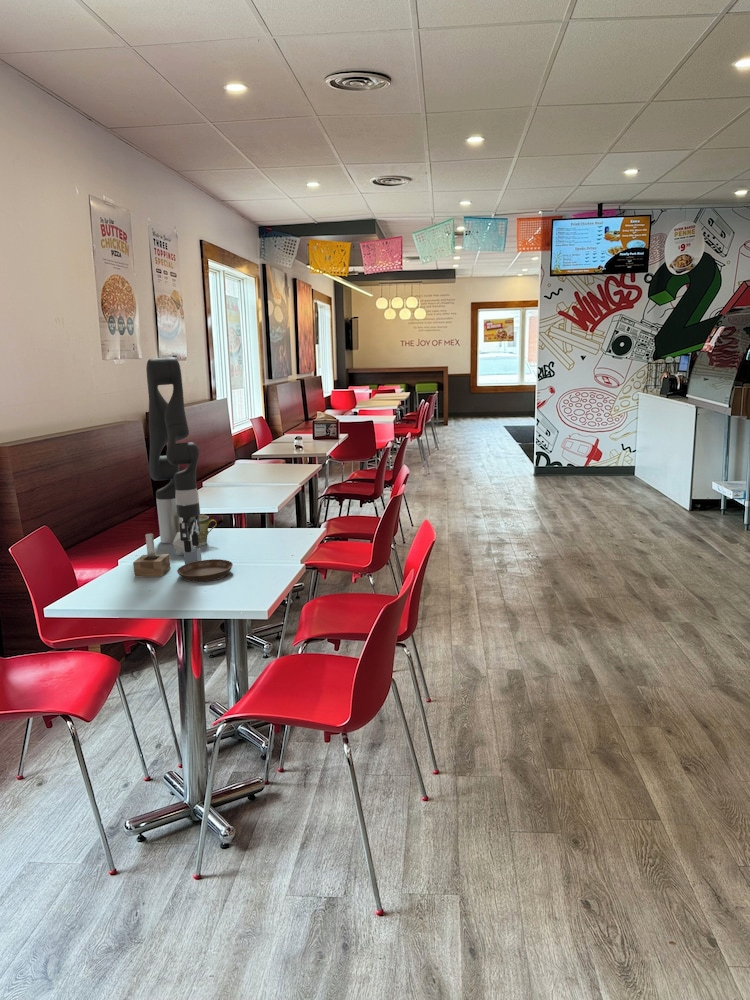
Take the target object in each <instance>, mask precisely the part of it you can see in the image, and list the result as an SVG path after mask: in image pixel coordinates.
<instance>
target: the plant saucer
mask: <svg viewBox="0 0 750 1000" xmlns="http://www.w3.org/2000/svg"><path fill="white" fill-rule="evenodd" d="M232 568H233V562H232V561H230V560H225V559H219V558H218V559H213V558H212V559H202V561H196V562H192V563H188V564H186V565H185V564H184V565H181V566H180V567H177V570H176V572H177V574H178V575H179V576H180V577H181V578H182V579H184V580H185V581H187V582H193V583H199V582H200V583H201V582H211V581H214V580H218V579H219V580H220V579H222V578H224V577H226V576H227V575H228V574H229V573H230V572H231V571H232Z"/></svg>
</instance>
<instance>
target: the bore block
mask: <svg viewBox="0 0 750 1000" xmlns="http://www.w3.org/2000/svg"><path fill="white" fill-rule="evenodd" d="M155 558H156V560H148V555H147V554H142V555H141V556H139V557H138V558H137V559H136V560H134V561H133V562H132V564H133V565H132V568H133V574H134V578H150V577H151V578H153V577H163V576H164V575H166V573H168V571H170V569H171V568H172V567H171V560H170V554H169V553H161V554H159V553H155Z"/></svg>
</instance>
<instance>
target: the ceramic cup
mask: <svg viewBox="0 0 750 1000" xmlns="http://www.w3.org/2000/svg"><path fill="white" fill-rule="evenodd" d="M209 517H210V516H208V515H199V523H200V532H199V535H198V538H199V545H198V546H197V547H200V546H201V545H202V546H205V545H207V543H208V535H209V533H210V532H212V530H213V529H214V528H216V527H217V526H218V522H217V520H216V519H213V518H212V519H210V518H209ZM211 522H215V525H213V526H212V527H211V529H209V524H211ZM182 523H183V519H182Z"/></svg>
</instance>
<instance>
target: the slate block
mask: <svg viewBox="0 0 750 1000" xmlns="http://www.w3.org/2000/svg"><path fill="white" fill-rule="evenodd" d="M183 560H184V565H186V564H188V563H192V562H196V561H202V560H203V559H202V550H201V548H197V547H195V549H192V551H191V552H184V555H183Z"/></svg>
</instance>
